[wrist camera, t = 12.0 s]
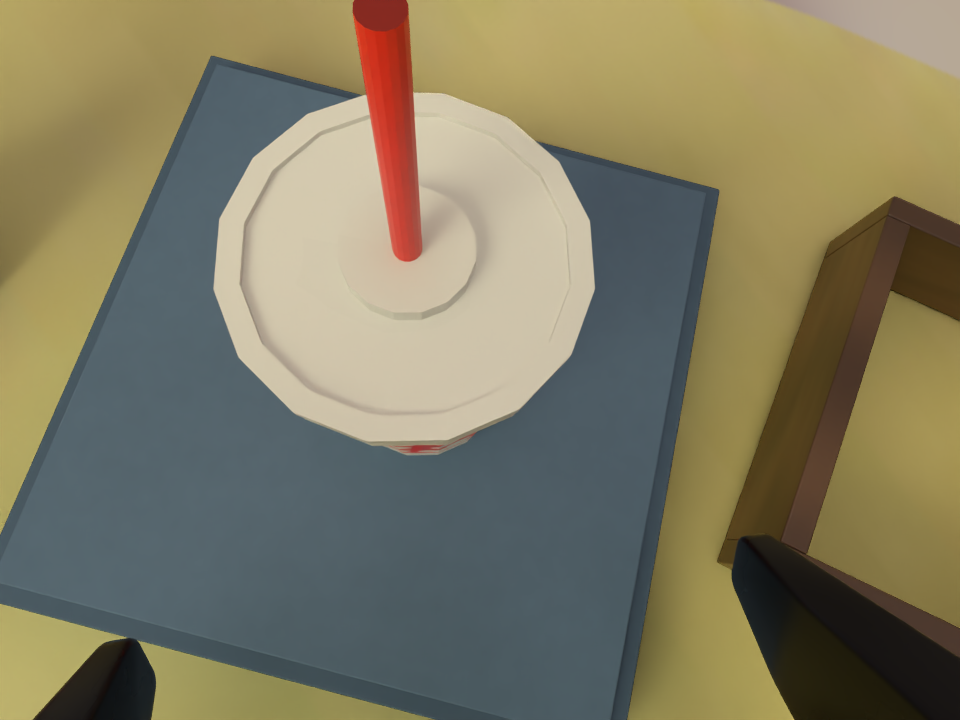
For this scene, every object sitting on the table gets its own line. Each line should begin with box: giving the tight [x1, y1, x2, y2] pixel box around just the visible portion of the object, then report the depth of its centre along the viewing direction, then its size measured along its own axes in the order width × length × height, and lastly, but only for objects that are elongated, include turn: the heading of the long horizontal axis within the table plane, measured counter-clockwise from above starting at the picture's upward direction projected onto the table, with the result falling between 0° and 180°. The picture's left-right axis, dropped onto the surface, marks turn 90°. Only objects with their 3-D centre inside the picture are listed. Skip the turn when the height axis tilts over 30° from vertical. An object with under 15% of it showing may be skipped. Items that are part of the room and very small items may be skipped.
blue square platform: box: [0, 56, 719, 720], centre depth 20 cm, size 18×18×2 cm
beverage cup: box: [213, 0, 595, 455], centre depth 12 cm, size 6×6×14 cm
